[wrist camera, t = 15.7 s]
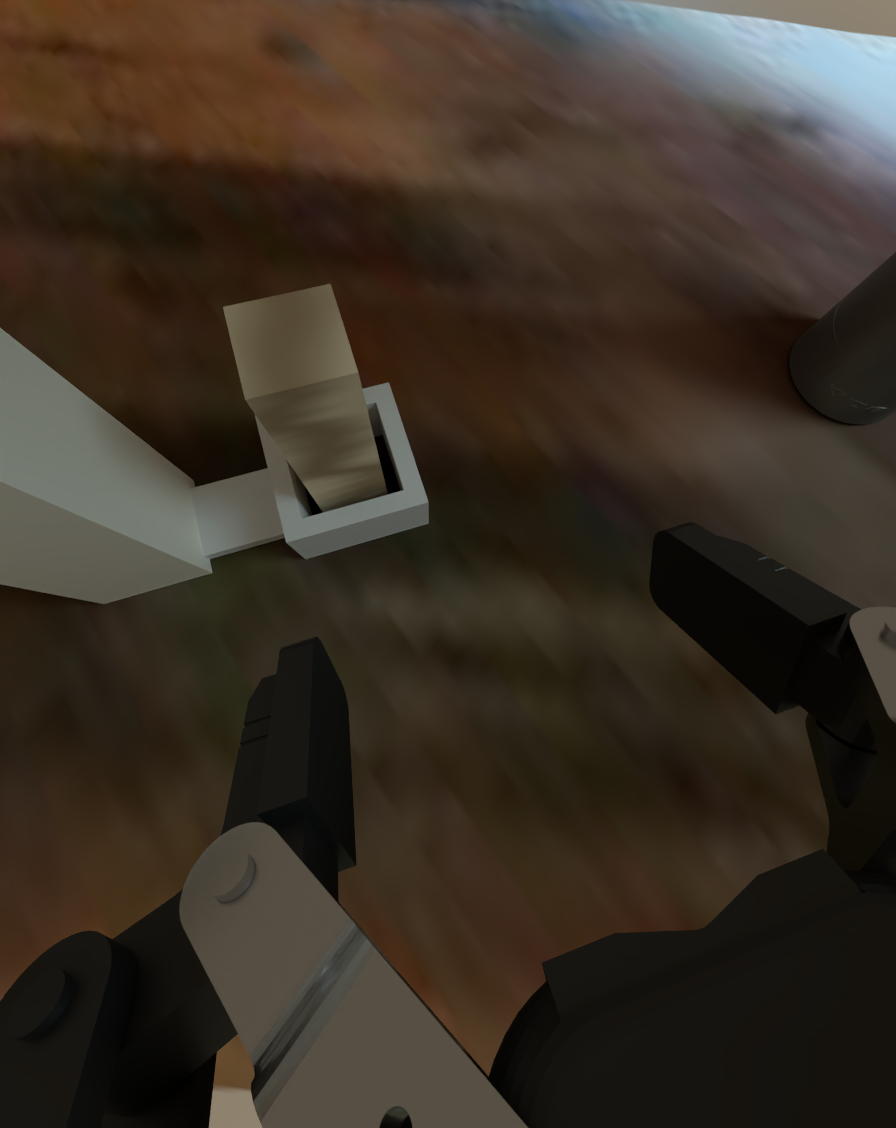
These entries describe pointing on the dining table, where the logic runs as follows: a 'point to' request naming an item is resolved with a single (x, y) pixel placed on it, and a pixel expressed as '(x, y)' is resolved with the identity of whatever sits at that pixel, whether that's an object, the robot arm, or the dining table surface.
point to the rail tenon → (308, 392)
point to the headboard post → (154, 495)
